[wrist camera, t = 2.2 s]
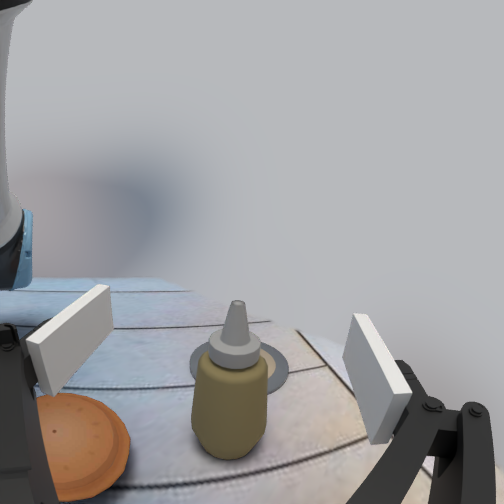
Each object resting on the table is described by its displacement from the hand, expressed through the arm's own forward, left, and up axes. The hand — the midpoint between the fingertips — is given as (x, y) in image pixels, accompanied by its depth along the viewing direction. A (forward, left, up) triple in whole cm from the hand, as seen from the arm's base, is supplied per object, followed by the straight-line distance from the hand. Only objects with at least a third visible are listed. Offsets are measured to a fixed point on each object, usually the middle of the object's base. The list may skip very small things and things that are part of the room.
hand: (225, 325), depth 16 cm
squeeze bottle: (-8, +6, -21) cm, 24 cm away
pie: (-12, -12, -21) cm, 27 cm away
